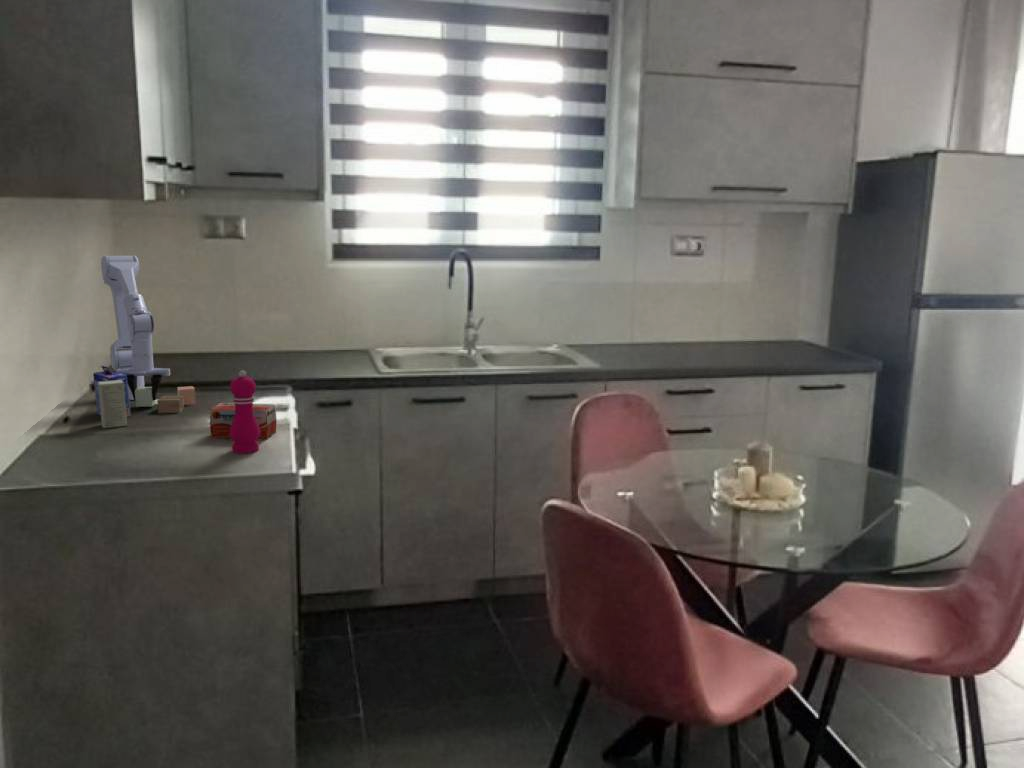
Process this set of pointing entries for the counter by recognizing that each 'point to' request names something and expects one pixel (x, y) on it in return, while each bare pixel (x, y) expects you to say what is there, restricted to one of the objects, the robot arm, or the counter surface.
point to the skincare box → (112, 403)
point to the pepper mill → (244, 415)
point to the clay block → (187, 394)
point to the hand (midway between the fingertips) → (145, 399)
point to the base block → (170, 404)
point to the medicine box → (225, 414)
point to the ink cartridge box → (110, 376)
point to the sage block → (144, 397)
